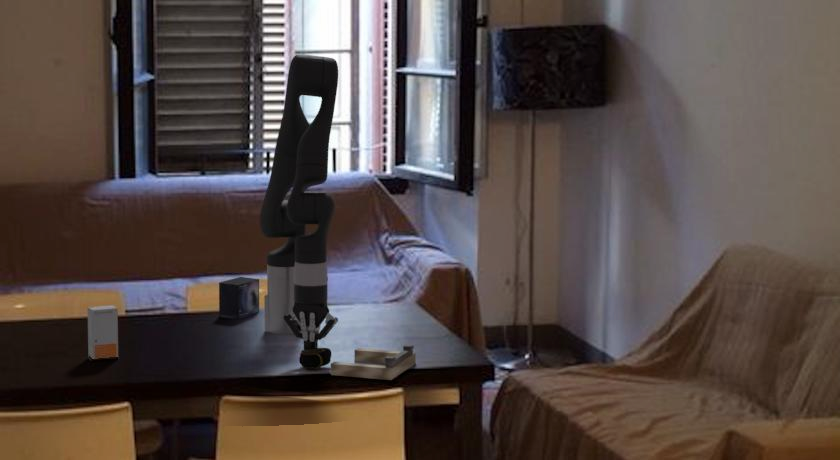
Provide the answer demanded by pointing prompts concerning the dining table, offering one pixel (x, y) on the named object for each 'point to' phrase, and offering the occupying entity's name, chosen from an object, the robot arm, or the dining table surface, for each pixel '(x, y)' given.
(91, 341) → the skincare box
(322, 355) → the tape measure
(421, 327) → the dining table surface
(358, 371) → the tan piece
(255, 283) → the small box
